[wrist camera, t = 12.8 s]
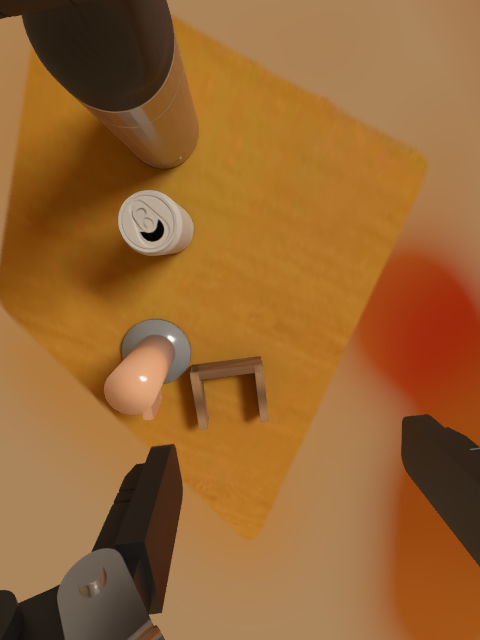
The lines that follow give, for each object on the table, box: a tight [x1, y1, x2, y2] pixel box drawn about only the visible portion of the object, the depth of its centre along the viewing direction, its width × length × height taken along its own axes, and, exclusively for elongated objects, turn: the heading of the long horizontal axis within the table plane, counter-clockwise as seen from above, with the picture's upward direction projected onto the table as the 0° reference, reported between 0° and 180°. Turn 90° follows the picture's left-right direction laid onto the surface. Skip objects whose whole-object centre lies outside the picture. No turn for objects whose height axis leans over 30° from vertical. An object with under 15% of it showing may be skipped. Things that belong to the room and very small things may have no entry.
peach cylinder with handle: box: [104, 335, 175, 420], centre depth 39 cm, size 8×6×12 cm, turn 7°
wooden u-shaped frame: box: [190, 357, 269, 430], centre depth 45 cm, size 9×10×3 cm
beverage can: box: [118, 190, 194, 256], centre depth 35 cm, size 6×6×12 cm
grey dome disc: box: [122, 319, 191, 384], centre depth 45 cm, size 10×10×1 cm
